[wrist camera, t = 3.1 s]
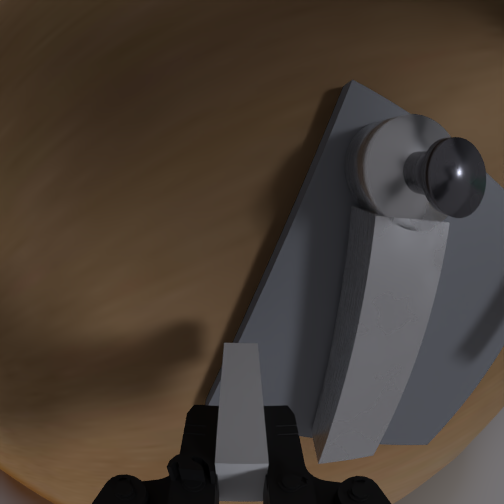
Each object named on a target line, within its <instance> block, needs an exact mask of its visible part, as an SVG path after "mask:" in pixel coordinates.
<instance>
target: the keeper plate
mask: <svg viewBox="0 0 504 504" xmlns="http://www.w3.org/2000/svg"><path fill="white" fill-rule="evenodd" d="M408 114H410V113H408V112H407V111H405V110H404V109H402V108H400V107H399V106H397V105H396V104H394V103H392V102H391V101H389V100H388V99H386V98H384V97H383V96H381V95H379V94H377V93H376V92H374V91H372V90H370V89H369V88H367V87H365V86H363V85H361V84H360V83H358V82H356V81H354V80H351V81H350V82H349V83H347V84H346V85H344V86H343V89H342V91H341V94H340V96H339V98H338V101H337V103H336V106H335V108H334V111H333V113H332V116H331V118H330V120H329V123H328V125H327V128H326V130H325V132H324V135H323V137H322V140H321V142H320V144H319V147H318V149H317V152H316V154H315V156H314V159H313V161H312V164H311V166H310V168H309V171H308V173H307V175H306V178H305V180H304V182H303V185H302V187H301V189H300V192H299V194H298V196H297V199H296V201H295V203H294V206H293V208H292V210H291V213H290V215H289V217H288V220H287V222H286V224H285V227H284V229H283V231H282V233H281V236H280V238H279V240H278V243H277V245H276V247H275V249H274V252H273V254H272V256H271V258H270V261H269V263H268V265H267V267H266V270H265V272H264V274H263V276H262V279H261V281H260V283H259V285H258V288H257V290H256V292H255V294H254V297H253V299H252V301H251V303H250V305H249V308H248V310H247V312H246V314H245V317H244V319H243V321H242V323H241V325H240V327H239V330H238V332H237V334H236V336H235V338H234V341H233V343H258V351H259V362H260V373H261V384H262V395H263V406H282V405H288V407H289V408H290V409H291V410H292V412H293V413H294V414H295V418H296V423H297V428H298V435H299V436H304V437H310V438H312V433H311V432H312V428H313V424H314V421H315V417H316V413H317V409H318V405H319V401H320V397H321V392H322V388H323V384H324V379H325V375H326V370H327V366H328V361H329V356H330V351H331V346H332V341H333V336H334V330H335V325H336V319H337V313H338V307H339V301H340V295H341V288H342V282H343V275H344V267H345V260H346V252H347V243H348V235H349V225H350V215H351V205H354V206H360V205H359V204H358V203H357V201H356V200H355V199H354V197H353V196H352V194H351V192H350V190H349V187H348V184H347V181H346V176H345V158H346V153H347V150H348V147H349V145H350V143H351V141H352V139H353V138H354V137H355V135H356V134H357V133H358V132H359V131H360V130H361V129H363V128H364V127H366V126H367V125H369V124H372V123H375V122H378V121H382V120H386V119H390V118H394V117H398V116H402V115H408ZM444 221H446V222H449V223H450V224H449V231H448V237H447V243H446V249H445V254H444V259H443V264H442V269H441V274H440V278H439V282H438V287H437V291H436V295H435V299H434V303H433V306H432V310H431V314H430V317H429V321H428V324H427V327H426V331H425V334H424V337H423V340H422V343H421V346H420V349H419V352H418V355H417V358H416V361H415V363H414V366H413V369H412V372H411V374H410V377H409V379H408V382H407V384H406V387H405V389H404V392H403V394H402V397H401V399H400V401H399V404H398V406H397V408H396V410H395V413H394V415H393V417H392V419H391V421H390V423H389V425H388V427H387V430H386V432H385V434H384V436H383V438H382V440H381V442H380V443H379V444H391V445H427V444H428V443H429V442H430V441H431V440H432V439H433V438H434V437H435V436H436V435H437V434H438V433H439V431H440V430H441V429H442V428H443V427H444V426H445V425H446V424H447V422H448V421H449V420H450V419H451V418H452V417H453V415H454V414H455V413H456V412H457V411H458V409H459V408H460V407H461V406H462V405H463V403H464V402H465V401H466V399H467V398H468V397H469V396H470V394H471V393H472V392H473V390H474V389H475V388H476V386H477V385H478V384H479V382H480V381H481V379H482V378H483V377H484V375H485V374H486V372H487V371H488V369H489V368H490V366H491V365H492V363H493V362H494V360H495V359H496V357H497V356H498V354H499V352H500V351H501V349H502V347H503V346H504V189H503V188H502V187H501V186H500V185H499V184H498V183H497V182H496V181H495V180H494V179H492V178H491V177H490V176H489V175H488V174H487V173H486V188H485V193H484V196H483V199H482V201H481V203H480V205H479V206H478V208H477V209H476V210H475V211H474V212H473V213H472V214H471V215H469V216H467V217H464V218H454V217H451V216H447V218H445V219H444ZM221 375H222V367H221V369H220V371H219V373H218V375H217V377H216V379H215V382H214V384H213V386H212V388H211V390H210V392H209V394H208V396H207V399H206V403H205V405H210V406H219V399H220V387H221Z"/></svg>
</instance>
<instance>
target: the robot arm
mask: <svg viewBox="0 0 504 504" xmlns="http://www.w3.org/2000/svg"><path fill="white" fill-rule="evenodd" d="M167 469H168V472H169V476H168V477H165V478H163V479H159V480H151V481H141V480H139V479H138V478H136V477H134V476H131V475H127V474H126V475H117V476H115V477H112V478H111V479H110V480H109V481H108V482H107V483H106V484H105V485H104V487H103V488H102V490H101V491H100V493H99V494H98V496H97V497H96V498H95V500H94V501H93V503H92V504H219V501H263V504H391V503H390V501H389V500H388V499H387V497H386V496H385V495H384V493H383V492H382V490H381V489H380V488H379V486H378V485H377V484H376V483H375V482H374V481H373V480H372V479H369V478H367V477H363V476H355V477H350V478H348V479H346V480H345V481H343V482H342V483H340V482H331V481H325V480H320V479H318V478H316V477H314V476H313V475H311V474H310V473H309V472H308V470H307V469H306V466H305V463H304V458H303V453H302V448H301V443H300V438H299V435H298V428H297V423H296V418H295V414H294V413H293V412H292V410H291V409H290V408H289V407H288V405H282V406H263V395H262V384H261V373H260V362H259V351H258V343H224V351H223V363H222V375H221V387H220V399H219V406H210V405H194V406H193V407H192V408H191V409H190V411H189V412H188V413H187V417H186V422H185V428H184V434H183V439H182V444H181V450H180V454H179V455H176V456H175V457H174V458H172V459H171V460H170V461H169V463H168V465H167Z"/></svg>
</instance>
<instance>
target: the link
mask: <svg viewBox="0 0 504 504" xmlns="http://www.w3.org/2000/svg"><path fill="white" fill-rule="evenodd" d="M345 176H346V181H347V184H348V187H349V190H350V192H351V194H352V196H353V197H354V199H355V200H356V201H357V203H358V204H359V205H360V206H354V205H351V215H350V225H349V235H348V243H347V252H346V260H345V267H344V275H343V282H342V288H341V295H340V301H339V307H338V313H337V319H336V325H335V330H334V336H333V341H332V346H331V351H330V356H329V361H328V366H327V370H326V375H325V379H324V384H323V388H322V392H321V397H320V401H319V405H318V409H317V413H316V417H315V421H314V424H313V428H312V432H311V433H312V438H313V442H314V447H315V451H316V455H317V460H318V464H320V463H328V462H336V461H343V460H350V459H356V458H362V457H367V456H372V455H374V453H375V451H376V449H377V447H378V445H379V443H380V442H381V440H382V438H383V436H384V434H385V432H386V430H387V427H388V425H389V423H390V421H391V419H392V417H393V415H394V413H395V410H396V408H397V406H398V404H399V401H400V399H401V397H402V394H403V392H404V389H405V387H406V384H407V382H408V379H409V377H410V374H411V372H412V369H413V366H414V363H415V361H416V358H417V355H418V352H419V349H420V346H421V343H422V340H423V337H424V334H425V331H426V327H427V324H428V321H429V317H430V314H431V310H432V306H433V303H434V299H435V295H436V291H437V287H438V282H439V278H440V274H441V269H442V264H443V259H444V254H445V249H446V243H447V237H448V231H449V224H450V223H449V222H446V221H444V219H445V218H447V216H451V217H454V218H464V217H467V216H469V215H471V214H472V213H473V212H474V211H475V210H476V209H477V208H478V206H479V205H480V203H481V201H482V199H483V196H484V193H485V188H486V170H485V166H484V162H483V159H482V157H481V155H480V153H479V151H478V150H477V149H476V147H475V146H474V145H473V144H472V143H470V142H469V141H467V140H466V139H463V138H459V137H453V138H451V137H450V135H449V134H448V132H447V131H446V130H445V129H444V128H443V127H442V126H441V125H440V124H438V123H437V122H436V121H434V120H432V119H430V118H428V117H426V116H423V115H417V114H408V115H402V116H398V117H394V118H390V119H386V120H382V121H378V122H375V123H372V124H369V125H367V126H366V127H364V128H363V129H361V130H360V131H359V132H358V133H357V134H356V135H355V137H354V138H353V139H352V141H351V143H350V145H349V147H348V150H347V153H346V158H345Z"/></svg>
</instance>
